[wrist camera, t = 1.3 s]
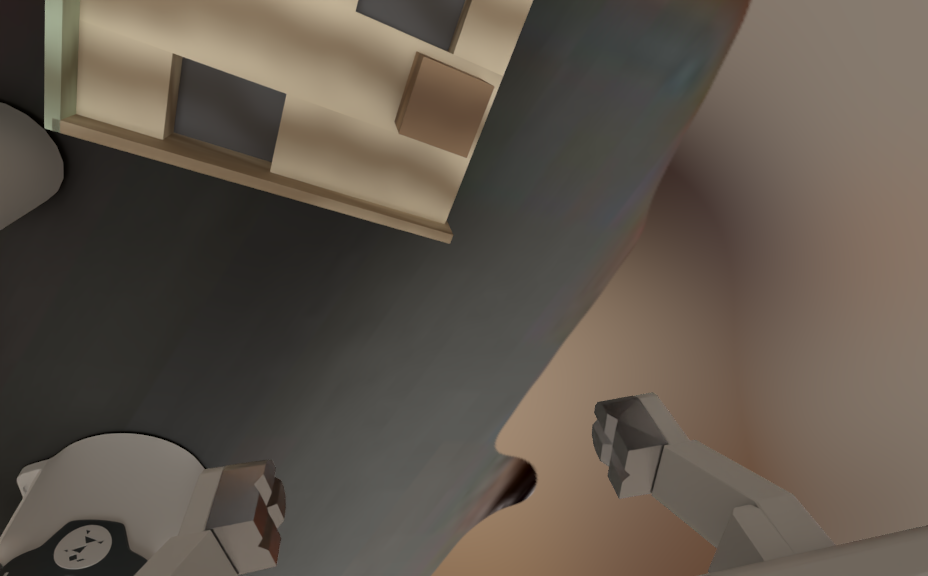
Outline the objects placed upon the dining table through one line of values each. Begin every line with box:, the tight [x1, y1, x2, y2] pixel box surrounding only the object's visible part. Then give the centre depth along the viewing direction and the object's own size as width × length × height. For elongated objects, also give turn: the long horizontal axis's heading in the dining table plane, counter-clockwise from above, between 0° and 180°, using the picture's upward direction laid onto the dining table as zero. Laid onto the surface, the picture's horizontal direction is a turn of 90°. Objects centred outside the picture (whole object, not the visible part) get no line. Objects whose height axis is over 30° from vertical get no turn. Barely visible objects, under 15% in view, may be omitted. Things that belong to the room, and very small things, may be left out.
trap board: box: [44, 0, 533, 244], centre depth 32 cm, size 20×27×4 cm
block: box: [394, 51, 495, 158], centre depth 33 cm, size 5×5×4 cm
